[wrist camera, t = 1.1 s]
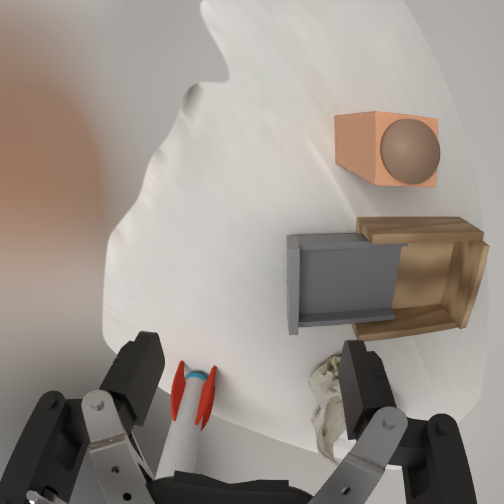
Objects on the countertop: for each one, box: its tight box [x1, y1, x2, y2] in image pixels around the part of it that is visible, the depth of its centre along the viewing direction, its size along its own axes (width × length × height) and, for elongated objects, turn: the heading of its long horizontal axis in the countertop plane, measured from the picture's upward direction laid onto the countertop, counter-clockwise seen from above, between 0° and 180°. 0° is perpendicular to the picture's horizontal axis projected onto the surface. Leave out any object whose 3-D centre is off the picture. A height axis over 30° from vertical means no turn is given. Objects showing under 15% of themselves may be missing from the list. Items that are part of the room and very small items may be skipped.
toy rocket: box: [155, 361, 217, 479], centre depth 29 cm, size 6×6×30 cm
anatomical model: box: [308, 356, 347, 467], centre depth 40 cm, size 15×9×25 cm
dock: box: [352, 217, 489, 341], centre depth 31 cm, size 13×14×7 cm
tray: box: [286, 233, 408, 335], centre depth 31 cm, size 10×13×4 cm
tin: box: [334, 111, 440, 187], centre depth 22 cm, size 5×5×13 cm
